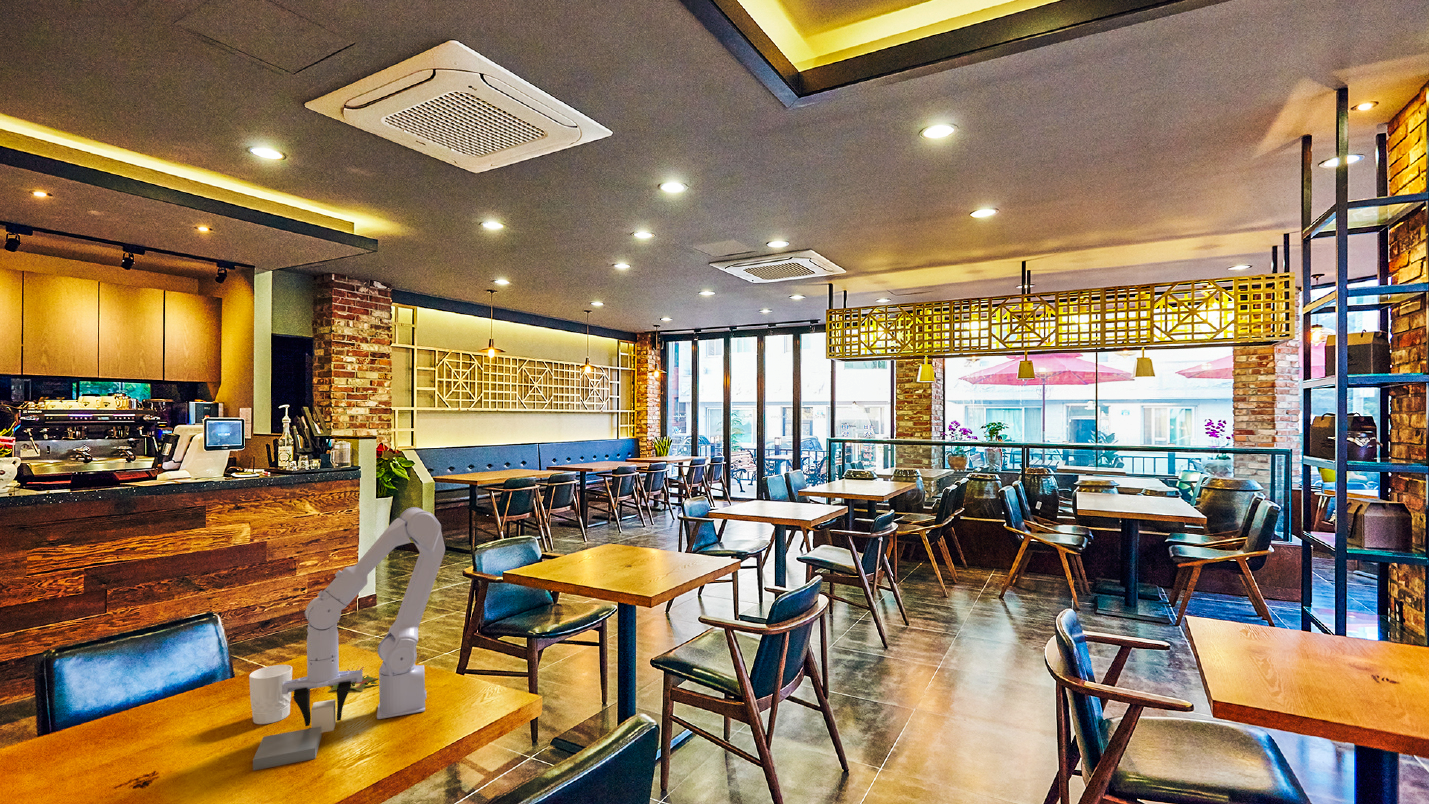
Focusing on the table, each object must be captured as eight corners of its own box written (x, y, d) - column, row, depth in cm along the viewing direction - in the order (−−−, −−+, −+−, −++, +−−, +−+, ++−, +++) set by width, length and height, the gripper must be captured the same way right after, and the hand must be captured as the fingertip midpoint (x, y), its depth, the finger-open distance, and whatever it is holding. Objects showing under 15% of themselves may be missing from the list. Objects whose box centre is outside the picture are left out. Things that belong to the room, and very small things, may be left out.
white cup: (271, 727, 145) (271, 679, 145) (240, 724, 146) (239, 677, 146) (301, 711, 152) (301, 665, 152) (271, 708, 154) (270, 663, 154)
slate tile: (321, 736, 140) (321, 726, 140) (315, 758, 131) (315, 748, 131) (263, 746, 136) (263, 736, 136) (253, 770, 127) (252, 759, 127)
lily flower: (319, 687, 167) (319, 668, 167) (372, 674, 175) (372, 656, 175) (333, 702, 158) (333, 682, 158) (388, 687, 166) (388, 668, 166)
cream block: (335, 722, 146) (335, 699, 146) (333, 730, 143) (333, 706, 143) (313, 726, 145) (313, 702, 145) (311, 734, 141) (311, 710, 141)
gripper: (279, 668, 137) (279, 736, 137) (360, 656, 143) (361, 722, 143) (284, 656, 144) (285, 722, 144) (362, 646, 150) (363, 709, 149)
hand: (323, 721), depth 144 cm, fingers open, 5 cm apart
